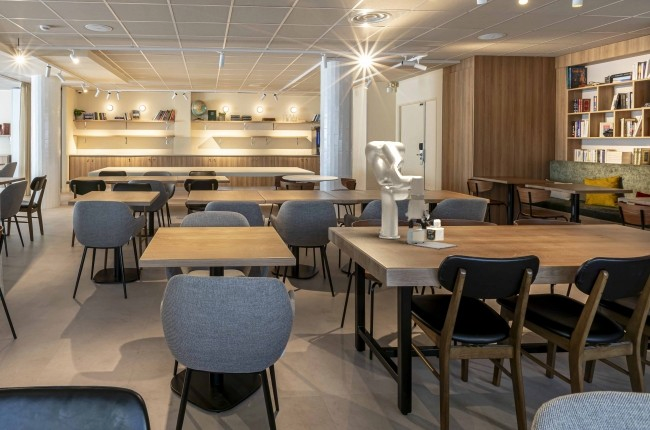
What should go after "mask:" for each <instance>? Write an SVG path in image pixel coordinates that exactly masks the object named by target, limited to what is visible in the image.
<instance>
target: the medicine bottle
mask: <svg viewBox="0 0 650 430" xmlns="http://www.w3.org/2000/svg"><path fill="white" fill-rule="evenodd" d="M441 223H442V222H441V220H440V219H436V218H435V219H431V220H430V221H429V227H426V233H425V237H426V238H425V241H428V242H441V241H444V232H445V229H444V227H441Z"/></svg>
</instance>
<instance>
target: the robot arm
mask: <svg viewBox="0 0 650 430" xmlns="http://www.w3.org/2000/svg"><path fill="white" fill-rule="evenodd" d="M405 153H406V146H405V144H404V143H402V142H400V141H388V140H387V141H386V140H385V141H383V140H382V141H381V140H379V141H377V140H376V141H369V142H368V143H367V144H366V145H365V148H364V155H365V159H366V160H367V162H368V164H369V166H370V167H371V169H372V172H373V174H374V176H375V180H376V181H377V183H378V184H379V185H380V186H381V188H380V191H379V192H380V193H379V195H380V200H381V229H378V230H377V233H378V238H380V239H387V240H389V239H391V240H392V239H401V234H399V232H398V228H399V227H398V226H399V224H398V223H399V219H398V218H399V208H398V205H397V202H396V201H403V200H406V199H407V198H408V197H409V199H410V200H409V202H408V206H407V212H405V217H406V220H407V222H408V229H413V228H414V219H416V220H421V229H422V230H423V229H425V230H427V222H428V220H429V219H430V216H431V215H430V213H428V212H427V207H426V201H425V178H424V176H421V175H403V174H402V173H401V171H399V169H400V168H402V167H403V165H404V164H405V160H404V158H403V156H404V155H405ZM380 156H384V158H385V159H386V161H387V163H388V165H389V166H390V168H388V166H387V165H386V164H387V163H386V162H385V161H384V160H383V159H382V158H381V157H380ZM409 190H410V195H409Z"/></svg>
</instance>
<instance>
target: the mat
mask: <svg viewBox="0 0 650 430" xmlns="http://www.w3.org/2000/svg"><path fill="white" fill-rule="evenodd" d="M412 246H415V247H420V248H427V249H432V250H445V249H451V248H456V247H458V245H456V244H450V243H446V242H445V243H443V242H440V241H427V242H424V243H417V244H412Z"/></svg>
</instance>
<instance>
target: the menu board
mask: <svg viewBox="0 0 650 430" xmlns="http://www.w3.org/2000/svg"><path fill="white" fill-rule="evenodd" d="M425 237H426V229H423V230H422V228H417V229H408V230H407V238H406V239H407V241H406V242H407V243H408V244H407V243H406V244H407V245H413V244H415V243H417V244H419V243H423V242H424V243H426V242H425V241H426V238H425Z"/></svg>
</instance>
